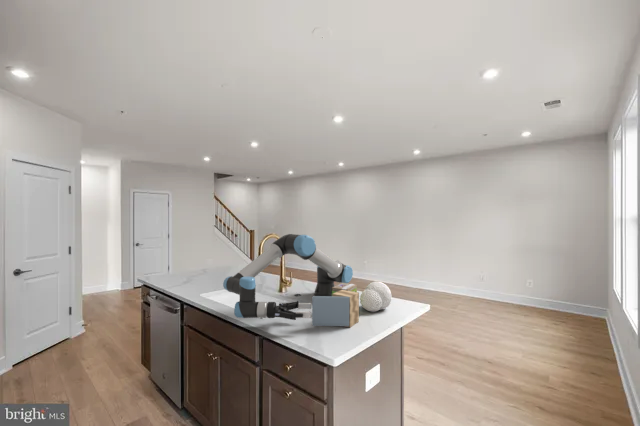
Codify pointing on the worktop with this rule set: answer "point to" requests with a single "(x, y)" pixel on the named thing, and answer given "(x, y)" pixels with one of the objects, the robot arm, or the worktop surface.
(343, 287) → the tea box
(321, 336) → the worktop surface
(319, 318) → the flap
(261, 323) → the worktop surface
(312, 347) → the worktop surface
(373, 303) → the cauliflower
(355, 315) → the carton
